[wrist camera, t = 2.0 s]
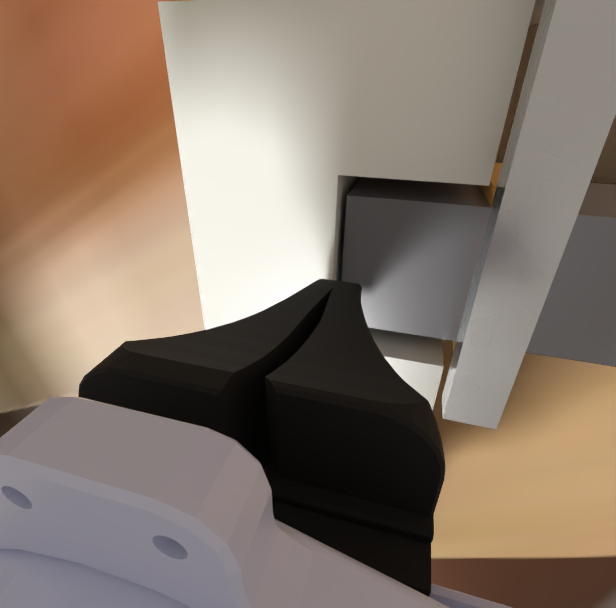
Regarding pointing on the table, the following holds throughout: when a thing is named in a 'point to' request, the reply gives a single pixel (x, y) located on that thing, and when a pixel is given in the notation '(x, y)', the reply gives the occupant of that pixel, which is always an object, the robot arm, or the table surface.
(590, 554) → the table surface
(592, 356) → the plug
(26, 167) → the table surface
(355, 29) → the socket block
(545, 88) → the flat metal lever
